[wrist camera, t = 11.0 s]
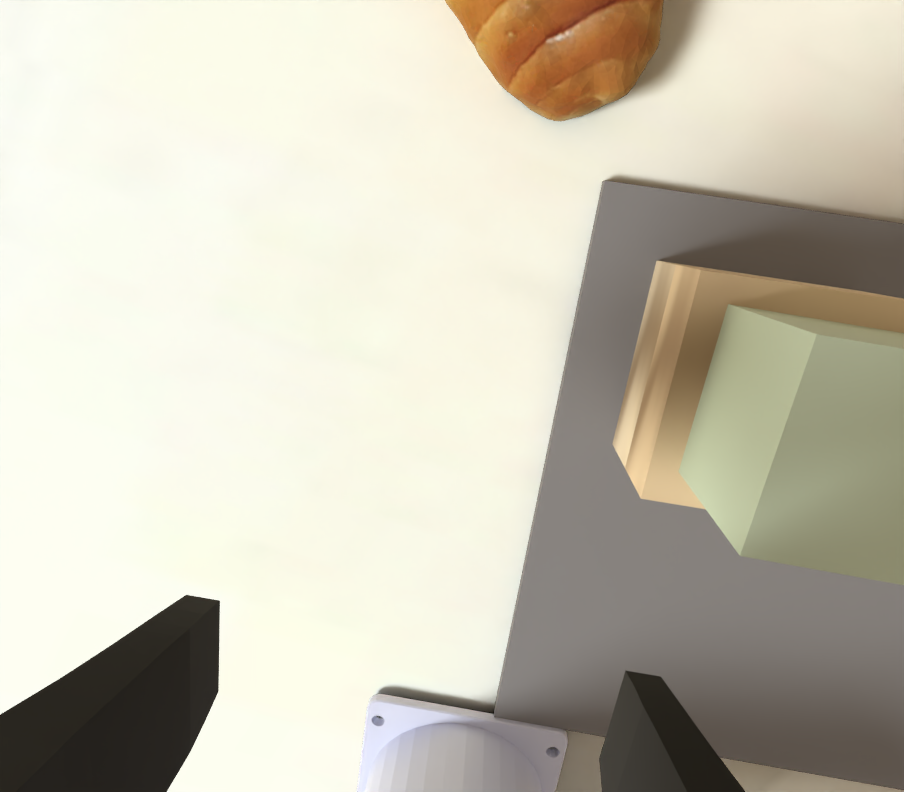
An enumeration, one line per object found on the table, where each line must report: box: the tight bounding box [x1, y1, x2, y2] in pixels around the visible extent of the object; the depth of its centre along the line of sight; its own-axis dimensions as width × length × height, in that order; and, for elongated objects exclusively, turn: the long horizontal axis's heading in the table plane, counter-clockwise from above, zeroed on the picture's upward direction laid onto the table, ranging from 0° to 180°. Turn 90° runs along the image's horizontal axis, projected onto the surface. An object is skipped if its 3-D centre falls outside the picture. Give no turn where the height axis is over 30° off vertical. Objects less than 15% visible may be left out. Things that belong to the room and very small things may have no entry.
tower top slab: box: [625, 265, 904, 509], centre depth 15 cm, size 6×6×2 cm
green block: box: [678, 304, 904, 585], centre depth 12 cm, size 4×4×4 cm
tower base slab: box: [613, 261, 903, 467], centre depth 17 cm, size 6×6×2 cm
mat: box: [494, 181, 904, 790], centre depth 20 cm, size 20×16×1 cm
